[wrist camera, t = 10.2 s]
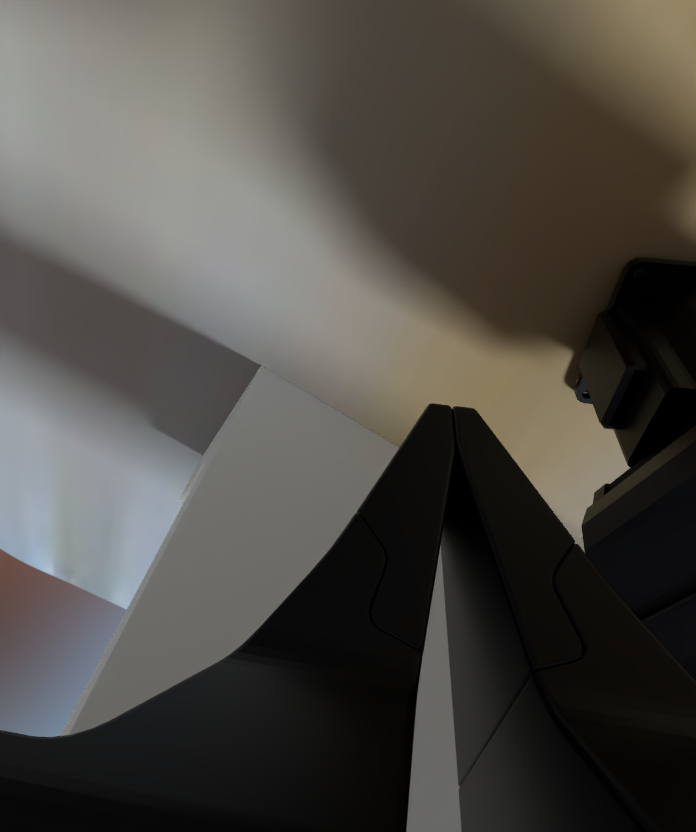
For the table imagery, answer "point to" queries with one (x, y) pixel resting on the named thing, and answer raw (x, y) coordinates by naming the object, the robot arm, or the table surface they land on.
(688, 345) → the robot arm
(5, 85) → the table surface
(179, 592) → the block
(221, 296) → the table surface
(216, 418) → the table surface
